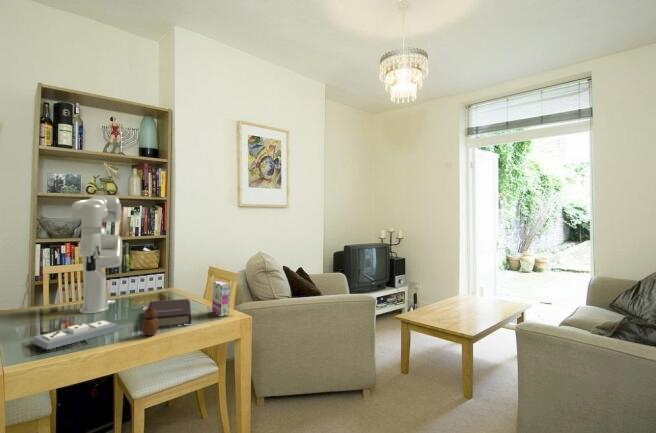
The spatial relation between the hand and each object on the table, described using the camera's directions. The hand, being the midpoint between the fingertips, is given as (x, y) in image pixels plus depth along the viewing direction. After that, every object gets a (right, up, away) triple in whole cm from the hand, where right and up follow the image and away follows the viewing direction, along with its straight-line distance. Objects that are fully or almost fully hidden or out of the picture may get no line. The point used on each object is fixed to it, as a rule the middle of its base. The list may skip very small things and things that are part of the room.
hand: (90, 270), depth 153 cm
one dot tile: (+10, -25, -8) cm, 28 cm away
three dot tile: (+1, -25, -22) cm, 33 cm away
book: (+30, -26, +12) cm, 42 cm away
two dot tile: (+6, -24, -15) cm, 29 cm away
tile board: (+5, -25, -15) cm, 30 cm away
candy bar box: (+53, -26, +22) cm, 63 cm away
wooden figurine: (+33, -26, -10) cm, 43 cm away
